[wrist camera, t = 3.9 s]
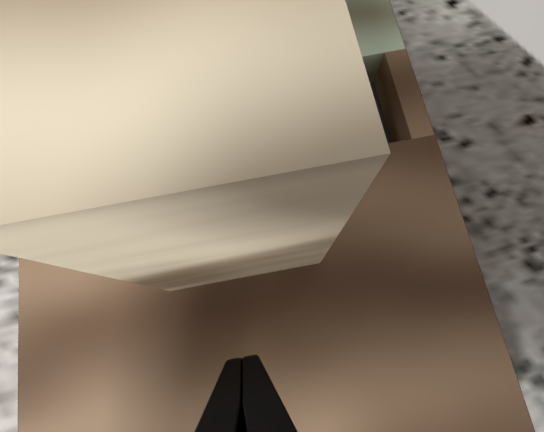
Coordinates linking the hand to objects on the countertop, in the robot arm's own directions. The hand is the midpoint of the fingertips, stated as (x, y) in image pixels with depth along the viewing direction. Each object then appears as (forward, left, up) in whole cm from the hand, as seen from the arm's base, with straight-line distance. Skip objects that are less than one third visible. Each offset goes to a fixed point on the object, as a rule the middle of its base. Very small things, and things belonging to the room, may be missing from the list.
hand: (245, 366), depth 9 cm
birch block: (+6, -1, -4) cm, 7 cm away
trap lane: (+6, -1, -7) cm, 9 cm away
